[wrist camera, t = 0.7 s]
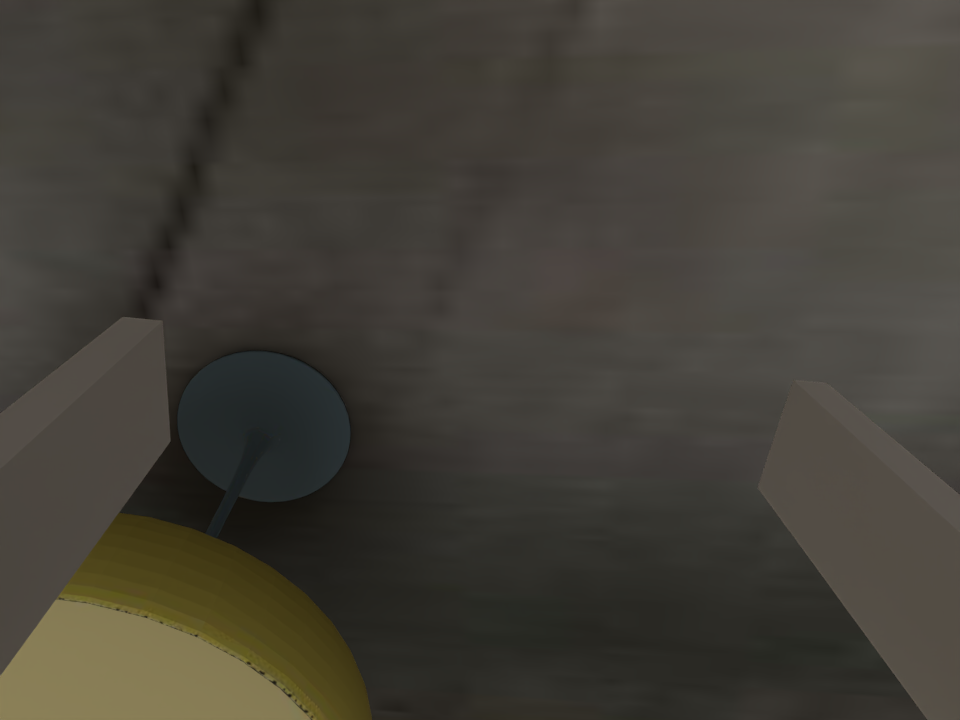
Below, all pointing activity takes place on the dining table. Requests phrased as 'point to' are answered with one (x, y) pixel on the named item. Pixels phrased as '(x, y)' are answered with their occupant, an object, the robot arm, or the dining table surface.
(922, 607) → the robot arm
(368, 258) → the dining table surface
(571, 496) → the dining table surface
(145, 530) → the cocktail glass
